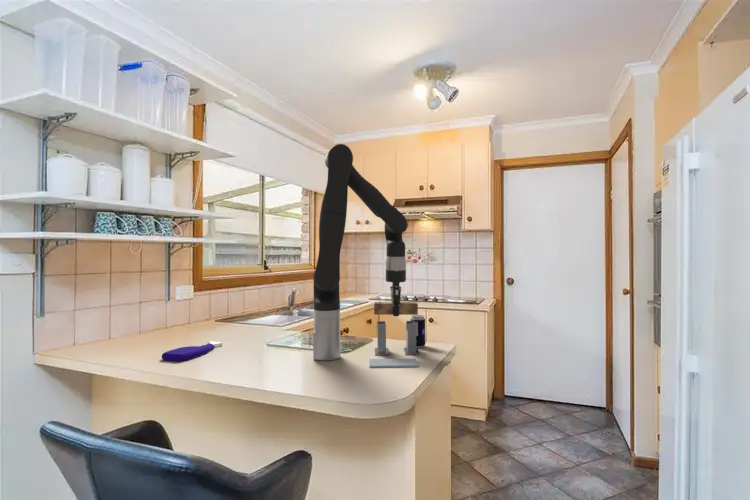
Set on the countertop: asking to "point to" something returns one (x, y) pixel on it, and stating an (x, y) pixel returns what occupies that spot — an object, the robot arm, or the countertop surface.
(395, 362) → the mat
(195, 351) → the purple flat tapered piece
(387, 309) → the rail
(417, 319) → the beverage can
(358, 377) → the countertop surface
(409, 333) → the grey bracket
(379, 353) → the grey metal bracket
